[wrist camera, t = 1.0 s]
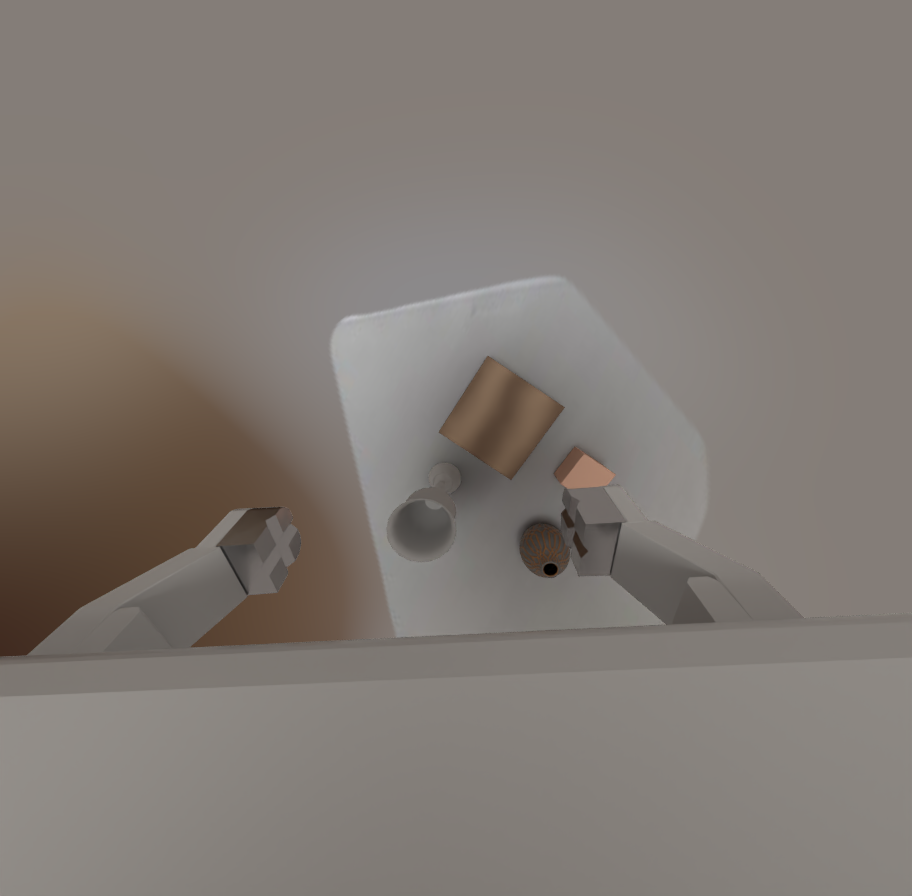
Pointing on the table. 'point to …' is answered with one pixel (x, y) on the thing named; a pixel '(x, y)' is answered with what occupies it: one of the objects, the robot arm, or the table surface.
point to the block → (582, 471)
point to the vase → (544, 550)
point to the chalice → (426, 518)
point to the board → (500, 418)
